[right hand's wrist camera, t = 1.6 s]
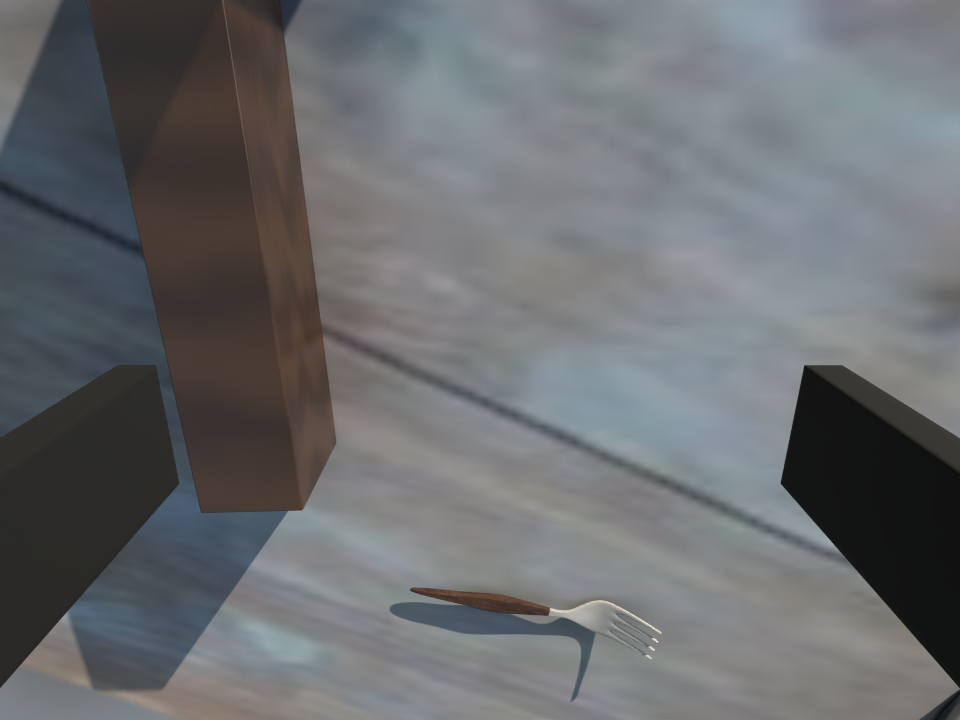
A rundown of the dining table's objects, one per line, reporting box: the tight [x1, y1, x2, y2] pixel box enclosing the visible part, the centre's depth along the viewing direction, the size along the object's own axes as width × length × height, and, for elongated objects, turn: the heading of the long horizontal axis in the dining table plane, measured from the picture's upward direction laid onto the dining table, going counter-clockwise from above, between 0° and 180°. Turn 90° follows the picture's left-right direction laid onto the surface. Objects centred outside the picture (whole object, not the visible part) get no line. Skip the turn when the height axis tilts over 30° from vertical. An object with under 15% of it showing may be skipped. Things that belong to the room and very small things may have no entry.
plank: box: [87, 0, 336, 513], centre depth 27 cm, size 30×5×7 cm, turn 2°
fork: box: [410, 588, 661, 660], centre depth 38 cm, size 3×16×2 cm, turn 79°
